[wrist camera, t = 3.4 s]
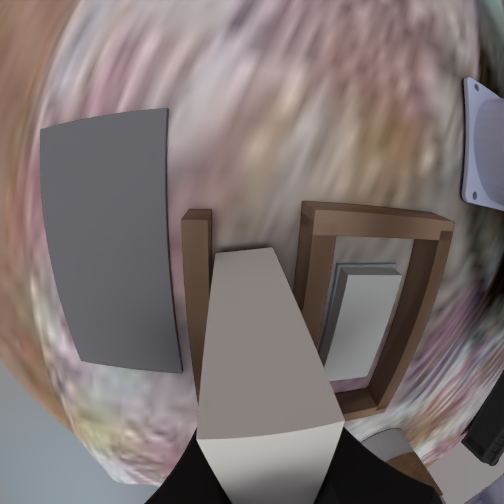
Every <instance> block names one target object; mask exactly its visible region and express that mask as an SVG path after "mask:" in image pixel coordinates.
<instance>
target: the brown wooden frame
mask: <svg viewBox="0 0 504 504" xmlns="http://www.w3.org/2000/svg"><path fill="white" fill-rule="evenodd" d="M454 224H455V222H454V221H452V220H449V219H447V218H444V217H442V216H439V215H437V214H434V213H431V212H423V211H415V210H407V209H398V208H388V207H378V206H367V205H356V204H343V203H330V202H314V201H302V210H301V222H300V233H299V244H298V254H297V264H296V273H295V282H294V291H293V295H294V298H295V300H296V302H297V305H298V307H299V310H300V312H301V314H302V317H303V319H304V321H305V324H306V326H307V328H308V331H309V333H310V336H311V338H312V340H313V343H314V345H315V348H317V344H318V339H319V334H320V329H321V325H322V320H323V315H324V309H325V304H326V299H327V293H328V287H329V281H330V275H331V269H332V262H333V256H334V249H335V241H336V236H361V237H385V238H407V239H415V241H414V246H413V251H412V255H411V260H410V264H409V268H408V272H407V276H406V280H405V284H404V288H403V291H402V295H401V298H400V302H399V305H398V309H397V312H396V315H395V318H394V321H393V324H392V327H391V330H390V333H389V336H388V339H387V341H386V344H385V347H384V350H383V352H382V355H381V357H380V360H379V362H378V365H377V367H376V370H375V372H374V375H373V377H372V379H371V381H370V384H369V386H368V388H365V389H360V390H355V391H349V392H343V393H337V394H335V397H336V399H337V402H338V404H339V407H340V409H341V412H342V414H343V417H344V419H345V421H349V420H354V419H358V418H363V417H367V416H371V415H375V414H379V413H383V412H385V410H386V408H387V407H388V405H389V403H390V401H391V399H392V398H393V396H394V394H395V392H396V390H397V388H398V386H399V385H400V383H401V381H402V379H403V377H404V375H405V373H406V371H407V368H408V366H409V364H410V362H411V360H412V358H413V356H414V353H415V351H416V349H417V346H418V344H419V342H420V339H421V337H422V334H423V332H424V329H425V327H426V324H427V321H428V319H429V316H430V313H431V310H432V308H433V305H434V302H435V299H436V296H437V292H438V289H439V286H440V283H441V279H442V276H443V272H444V268H445V265H446V261H447V257H448V253H449V248H450V244H451V239H452V235H453V229H454ZM181 229H182V253H183V271H184V286H185V299H186V311H187V321H188V331H189V341H190V349H191V358H192V366H193V373H194V380H195V387H196V394H197V401H198V407H199V395H200V384H201V373H202V363H203V353H204V343H205V334H206V325H207V316H208V308H209V300H210V292H211V284H212V209H189V210H188V211H187V213H186V214H185V215H184V217H183V218H182V219H181Z"/></svg>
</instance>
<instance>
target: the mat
mask: <svg viewBox="0 0 504 504" xmlns="http://www.w3.org/2000/svg"><path fill="white" fill-rule="evenodd" d="M167 128H168V109H167V108H161V109H149V110H140V111H131V112H123V113H116V114H110V115H103V116H98V117H92V118H87V119H82V120H77V121H72V122H68V123H64V124H59V125H55V126H51V127H48V128H44V129H40V180H41V195H42V206H43V216H44V223H45V231H46V237H47V243H48V249H49V254H50V259H51V264H52V269H53V273H54V278H55V282H56V286H57V290H58V294H59V297H60V301H61V304H62V308H63V311H64V314H65V318H66V321H67V324H68V327H69V330H70V333H71V336H72V338H73V341H74V344H75V346H76V349H77V352H78V354H79V357H80V359H81V361H85V362H90V363H96V364H102V365H108V366H115V367H122V368H129V369H138V370H147V371H157V372H169V373H182V372H183V368H182V362H181V356H180V349H179V342H178V335H177V327H176V319H175V310H174V301H173V291H172V280H171V269H170V255H169V239H168V217H167Z"/></svg>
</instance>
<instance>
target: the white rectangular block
mask: <svg viewBox="0 0 504 504" xmlns="http://www.w3.org/2000/svg"><path fill="white" fill-rule="evenodd" d="M344 422H345V419H344V417H343V414H342V412H341V409H340V407H339V404H338V402H337V399H336V397H335V394H334V392H333V389H332V387H331V384H330V382H329V379H328V377H327V374H326V372H325V369H324V367H323V365H322V362H321V360H320V357H319V355H318V352H317V350H316V348H315V345H314V343H313V340H312V338H311V336H310V333H309V331H308V328H307V326H306V324H305V321H304V319H303V317H302V314H301V312H300V310H299V307H298V305H297V302H296V300H295V298H294V295H293V293H292V291H291V288H290V286H289V284H288V282H287V279H286V277H285V275H284V272H283V270H282V268H281V265H280V263H279V261H278V259H277V256H276V254H275V252H274V250H273V247H272V248H262V249H252V250H242V251H232V252H222V253H216V254H215V261H214V269H213V276H212V284H211V292H210V300H209V308H208V316H207V325H206V334H205V343H204V353H203V363H202V373H201V384H200V395H199V407H198V420H197V434H196V440H197V442H198V444H199V446H200V448H201V450H202V452H203V454H204V456H205V458H206V460H207V461H208V463H209V465H210V467H211V469H212V471H213V472H214V474H215V476H216V478H217V479H218V481H219V483H220V484H221V486H222V488H223V489H224V491H225V493H226V494H227V496H228V498H229V499H230V501H231V502H232V504H313V503H314V501H315V499H316V496H317V494H318V492H319V490H320V487H321V485H322V483H323V480H324V478H325V475H326V473H327V470H328V468H329V465H330V463H331V460H332V457H333V455H334V452H335V449H336V446H337V443H338V441H339V438H340V435H341V432H342V428H343V425H344Z"/></svg>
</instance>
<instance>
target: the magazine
mask: <svg viewBox="0 0 504 504" xmlns="http://www.w3.org/2000/svg"><path fill="white" fill-rule="evenodd" d="M461 443H462V444H463V445H465V446H466V447H467V448H468V449H469V450H470V451H471V452H472V453H473V454H474V455H475V456H476V457H477V458H478V459H479V460H480V461H481V462H483V463H487V464H489V465H490V466H494V465H496V464H497V463H498V461H499V458H500V457H501V455H502V454H503V452H504V370H503V372H502V374H501V376H500V377H499V379H498V381H497V383H496V384H495V386H494V388H493V389H492V391H491V392H490V394H489V396H488V397H487V399H486V401H485V402H484V404H483V406H482V408H481V409H480V411H479V413H478V415H477V417H476V418H475V420H474V422H473V424H472V425H471V427H470V429H469V431H468V432H467V434H466V436H465V437H464V439H462V441H461Z"/></svg>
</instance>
